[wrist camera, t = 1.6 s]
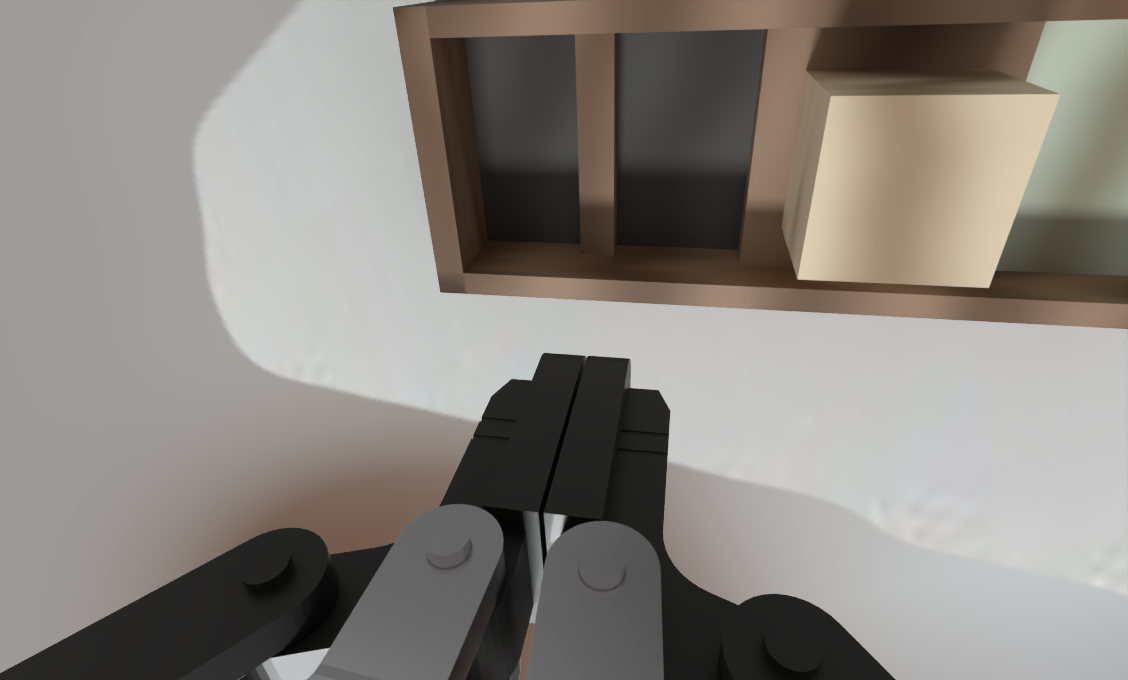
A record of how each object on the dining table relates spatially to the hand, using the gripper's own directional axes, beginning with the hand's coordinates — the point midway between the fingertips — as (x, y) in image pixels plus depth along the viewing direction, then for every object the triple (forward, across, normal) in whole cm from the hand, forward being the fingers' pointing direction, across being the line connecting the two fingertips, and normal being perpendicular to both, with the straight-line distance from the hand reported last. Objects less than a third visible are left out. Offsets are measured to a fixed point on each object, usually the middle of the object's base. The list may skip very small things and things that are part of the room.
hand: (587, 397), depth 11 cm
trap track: (+18, -6, 0) cm, 19 cm away
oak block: (+17, -8, 0) cm, 19 cm away
